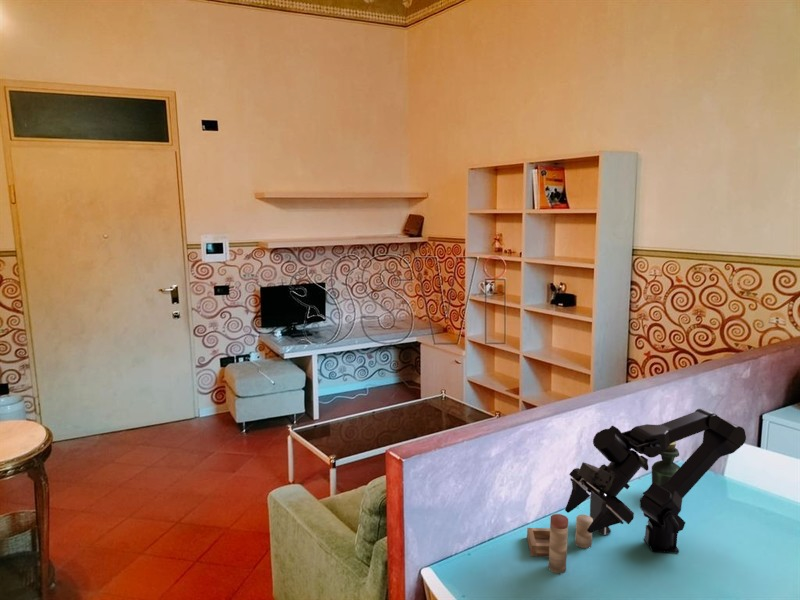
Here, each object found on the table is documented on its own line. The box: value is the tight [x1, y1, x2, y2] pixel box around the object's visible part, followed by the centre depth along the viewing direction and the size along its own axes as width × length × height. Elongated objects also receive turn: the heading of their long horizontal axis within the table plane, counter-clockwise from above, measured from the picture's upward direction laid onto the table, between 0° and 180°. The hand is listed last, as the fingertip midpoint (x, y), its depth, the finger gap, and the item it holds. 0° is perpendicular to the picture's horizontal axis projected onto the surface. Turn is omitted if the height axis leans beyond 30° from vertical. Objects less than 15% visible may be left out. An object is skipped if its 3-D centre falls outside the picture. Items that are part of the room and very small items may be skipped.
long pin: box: [548, 513, 569, 574], centre depth 138 cm, size 4×4×13 cm
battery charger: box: [589, 490, 612, 536], centre depth 155 cm, size 7×4×11 cm, turn 12°
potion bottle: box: [651, 441, 681, 485], centre depth 169 cm, size 8×8×18 cm
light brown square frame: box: [526, 527, 550, 558], centre depth 148 cm, size 8×8×3 cm
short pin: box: [574, 514, 593, 549], centre depth 149 cm, size 4×4×7 cm
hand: (577, 521), depth 139 cm, fingers open, 9 cm apart
